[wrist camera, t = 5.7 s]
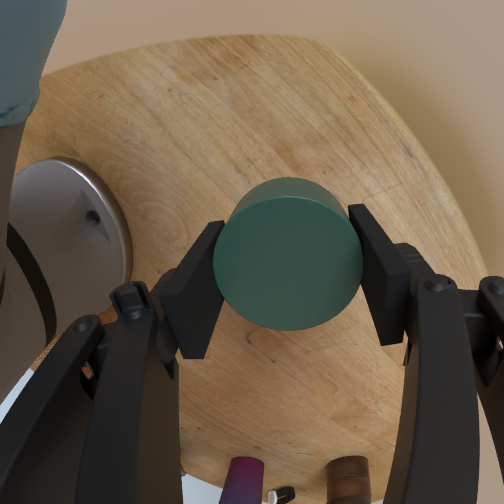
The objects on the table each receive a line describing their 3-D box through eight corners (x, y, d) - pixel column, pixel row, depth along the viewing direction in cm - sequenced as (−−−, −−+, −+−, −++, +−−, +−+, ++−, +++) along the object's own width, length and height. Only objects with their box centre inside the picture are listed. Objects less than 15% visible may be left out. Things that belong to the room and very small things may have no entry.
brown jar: (317, 469, 37) (315, 526, 27) (340, 453, 34) (342, 517, 24) (352, 473, 37) (354, 526, 27) (377, 457, 34) (382, 515, 24)
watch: (266, 511, 40) (259, 497, 43) (287, 504, 42) (279, 491, 45) (281, 500, 37) (272, 484, 40) (303, 492, 40) (294, 477, 43)
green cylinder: (214, 265, 16) (196, 302, 13) (253, 157, 13) (241, 170, 10) (317, 303, 16) (321, 346, 13) (369, 207, 14) (391, 234, 10)
